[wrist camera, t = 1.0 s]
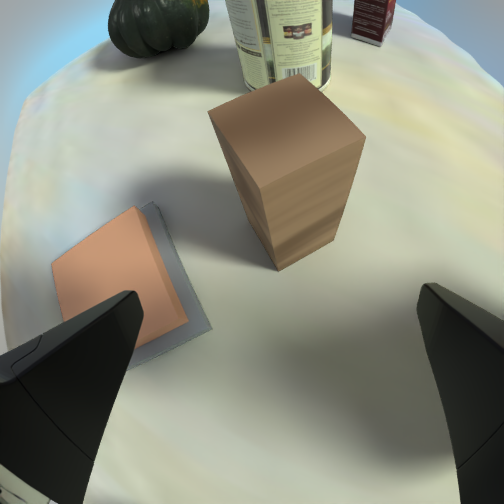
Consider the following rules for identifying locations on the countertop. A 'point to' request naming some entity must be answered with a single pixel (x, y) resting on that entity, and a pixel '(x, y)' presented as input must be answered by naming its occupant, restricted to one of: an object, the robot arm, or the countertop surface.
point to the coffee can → (282, 40)
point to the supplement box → (372, 20)
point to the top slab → (119, 274)
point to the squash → (156, 25)
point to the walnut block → (289, 164)
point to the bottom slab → (183, 289)
